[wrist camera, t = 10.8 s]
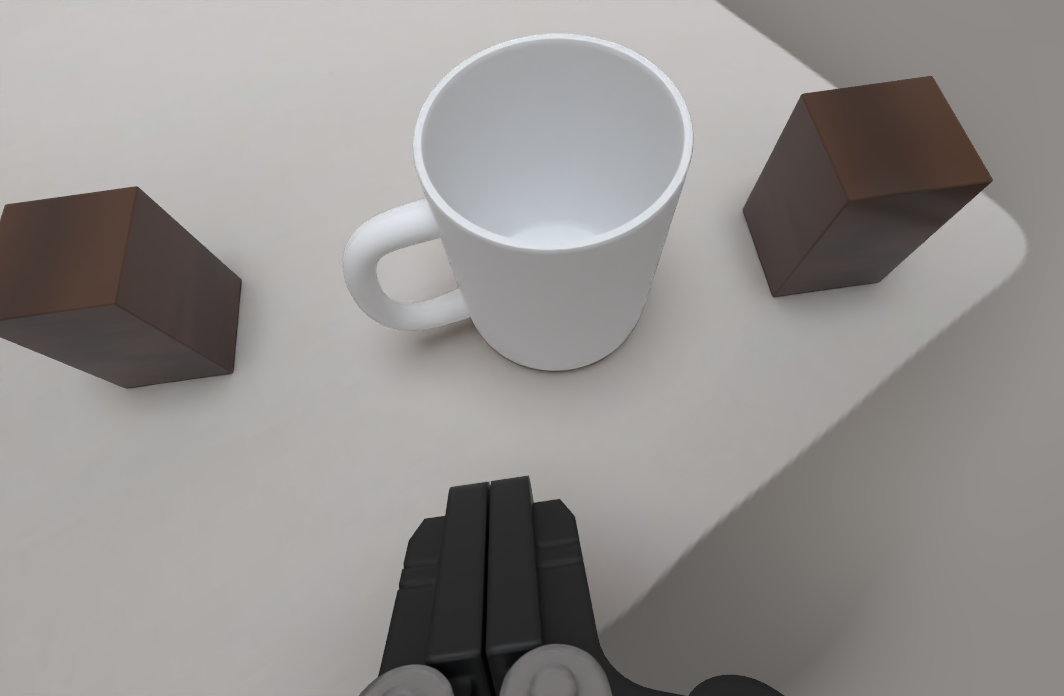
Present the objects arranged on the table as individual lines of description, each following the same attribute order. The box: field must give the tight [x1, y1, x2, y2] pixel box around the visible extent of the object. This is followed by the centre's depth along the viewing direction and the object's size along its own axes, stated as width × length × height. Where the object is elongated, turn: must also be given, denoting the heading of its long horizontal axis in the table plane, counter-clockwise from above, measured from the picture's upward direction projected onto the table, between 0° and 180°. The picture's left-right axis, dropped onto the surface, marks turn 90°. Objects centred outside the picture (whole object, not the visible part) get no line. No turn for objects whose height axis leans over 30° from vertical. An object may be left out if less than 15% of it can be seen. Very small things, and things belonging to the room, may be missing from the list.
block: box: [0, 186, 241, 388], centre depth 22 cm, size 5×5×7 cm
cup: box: [343, 34, 693, 371], centre depth 20 cm, size 8×12×10 cm
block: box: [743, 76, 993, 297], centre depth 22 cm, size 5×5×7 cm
